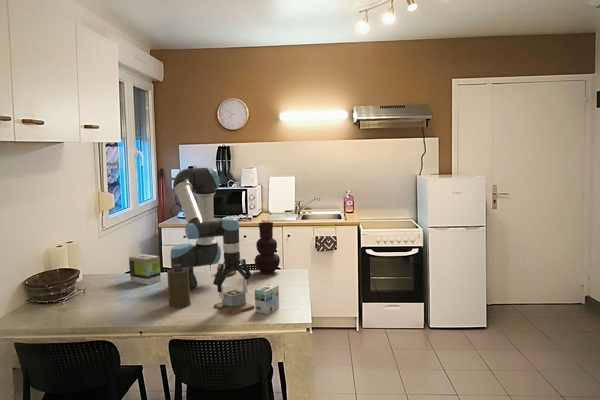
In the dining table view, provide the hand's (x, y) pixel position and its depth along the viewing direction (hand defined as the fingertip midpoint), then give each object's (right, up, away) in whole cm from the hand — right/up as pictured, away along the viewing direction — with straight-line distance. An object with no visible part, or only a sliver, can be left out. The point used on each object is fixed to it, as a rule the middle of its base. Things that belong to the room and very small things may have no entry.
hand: (233, 295), depth 238 cm
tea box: (-57, -2, +50) cm, 76 cm away
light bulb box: (+16, -6, -4) cm, 18 cm away
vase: (+12, +2, +62) cm, 63 cm away
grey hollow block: (0, -5, +1) cm, 5 cm away
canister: (-27, -6, +7) cm, 28 cm away
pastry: (-12, +1, +62) cm, 64 cm away
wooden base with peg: (0, -6, +1) cm, 6 cm away
